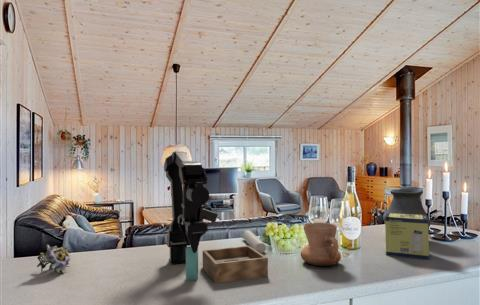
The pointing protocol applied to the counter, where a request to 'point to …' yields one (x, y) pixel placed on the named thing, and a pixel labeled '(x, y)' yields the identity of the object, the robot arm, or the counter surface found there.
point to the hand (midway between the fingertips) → (191, 249)
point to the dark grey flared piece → (406, 202)
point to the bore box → (234, 264)
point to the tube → (253, 241)
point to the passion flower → (55, 259)
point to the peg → (191, 264)
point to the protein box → (407, 235)
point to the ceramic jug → (321, 244)
